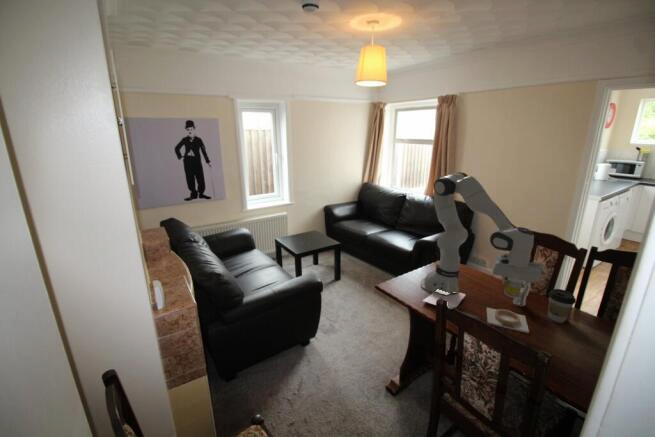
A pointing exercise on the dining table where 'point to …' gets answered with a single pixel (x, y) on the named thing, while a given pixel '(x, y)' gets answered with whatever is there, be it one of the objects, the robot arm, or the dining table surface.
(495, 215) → the robot arm
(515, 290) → the supplement bottle
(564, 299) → the coffee cup
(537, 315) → the dining table surface
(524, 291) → the beer glass
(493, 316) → the ring socket
